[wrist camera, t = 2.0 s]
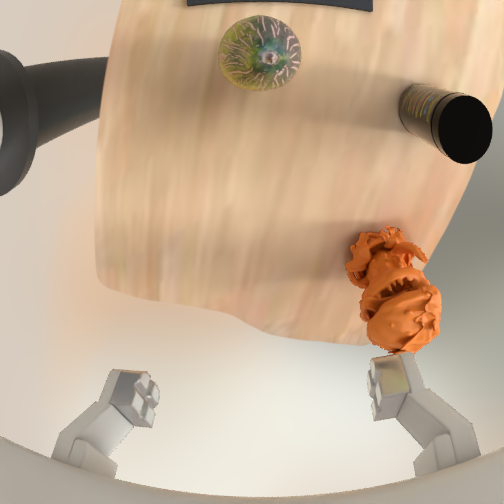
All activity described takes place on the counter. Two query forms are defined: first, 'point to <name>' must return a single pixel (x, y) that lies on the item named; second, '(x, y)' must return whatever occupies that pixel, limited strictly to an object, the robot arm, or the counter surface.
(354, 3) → the mat
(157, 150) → the counter surface
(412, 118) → the supplement container
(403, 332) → the toy dinosaur
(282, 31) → the vegetable
